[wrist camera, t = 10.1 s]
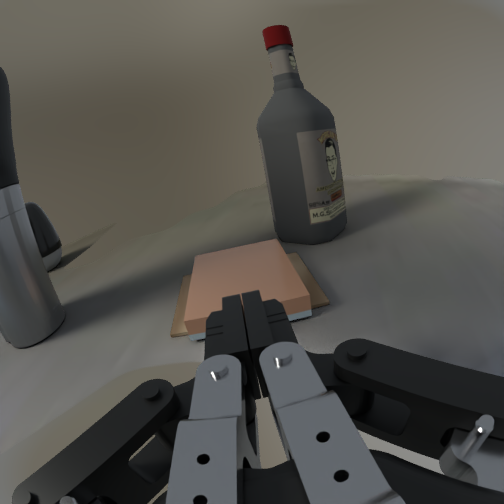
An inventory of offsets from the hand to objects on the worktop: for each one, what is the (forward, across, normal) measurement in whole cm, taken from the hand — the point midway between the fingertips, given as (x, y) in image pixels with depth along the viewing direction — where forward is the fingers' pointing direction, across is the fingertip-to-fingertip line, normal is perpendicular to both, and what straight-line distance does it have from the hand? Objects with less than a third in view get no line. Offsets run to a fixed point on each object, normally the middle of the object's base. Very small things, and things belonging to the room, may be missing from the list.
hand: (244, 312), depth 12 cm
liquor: (+29, -11, +8) cm, 32 cm away
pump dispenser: (+42, +42, +8) cm, 60 cm away
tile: (+9, 0, +6) cm, 11 cm away
